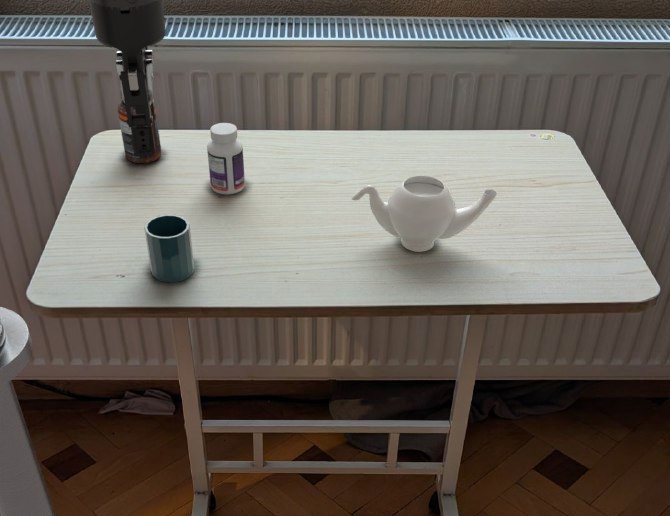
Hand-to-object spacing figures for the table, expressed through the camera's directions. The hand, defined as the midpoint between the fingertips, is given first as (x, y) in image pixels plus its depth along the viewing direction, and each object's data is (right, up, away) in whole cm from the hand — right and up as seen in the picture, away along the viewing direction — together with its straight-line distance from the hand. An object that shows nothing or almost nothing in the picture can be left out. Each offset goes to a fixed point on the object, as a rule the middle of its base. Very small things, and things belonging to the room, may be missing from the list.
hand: (146, 136), depth 98 cm
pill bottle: (+5, +2, +33) cm, 34 cm away
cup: (0, -13, +16) cm, 21 cm away
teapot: (+34, -8, +23) cm, 42 cm away
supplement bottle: (-9, +9, +39) cm, 42 cm away
